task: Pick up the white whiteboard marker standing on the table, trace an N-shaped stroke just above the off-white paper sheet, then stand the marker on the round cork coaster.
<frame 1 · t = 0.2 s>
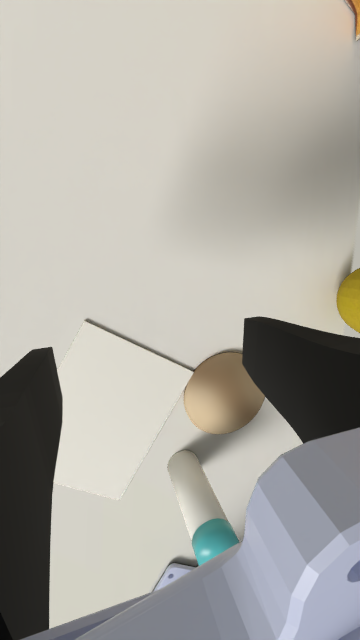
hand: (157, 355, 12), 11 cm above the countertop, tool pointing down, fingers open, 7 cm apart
coaster: (225, 392, 25), on the countertop
paper: (103, 417, 23), on the countertop
marker: (182, 464, 26), on the countertop
lemon: (341, 292, 26), on the countertop
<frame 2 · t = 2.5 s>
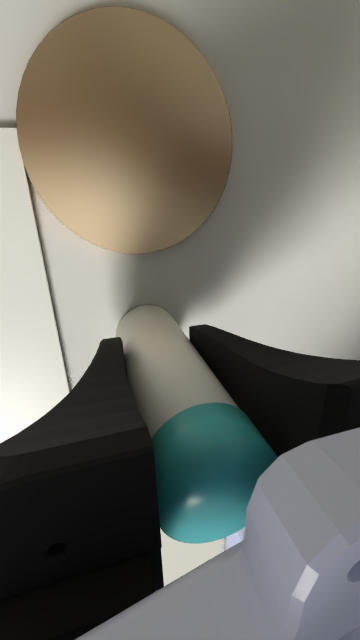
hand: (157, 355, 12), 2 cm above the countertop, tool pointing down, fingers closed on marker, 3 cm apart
coaster: (132, 148, 11), on the countertop
marker: (146, 333, 13), on the countertop, touching gripper
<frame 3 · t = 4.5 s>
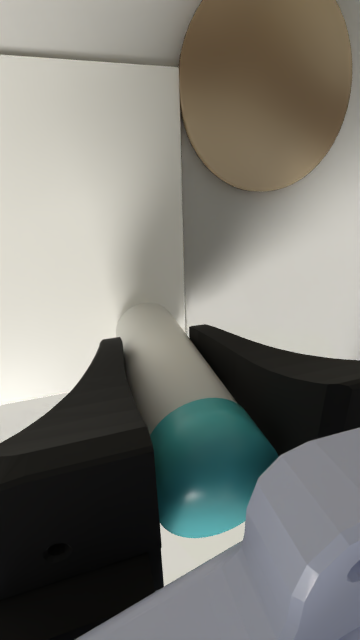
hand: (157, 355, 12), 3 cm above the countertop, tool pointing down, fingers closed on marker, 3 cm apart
coaster: (266, 91, 12), on the countertop
paper: (69, 254, 12), on the countertop
marker: (146, 331, 13), point 1 cm above the countertop, touching gripper
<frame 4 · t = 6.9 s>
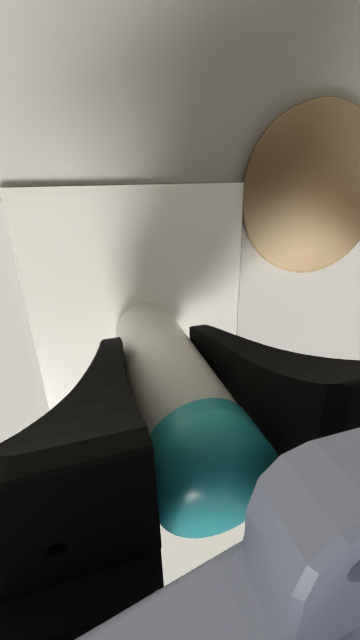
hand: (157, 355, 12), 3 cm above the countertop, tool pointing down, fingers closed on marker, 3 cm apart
coaster: (312, 193, 14), on the countertop
paper: (143, 330, 14), on the countertop
marker: (146, 331, 13), point 1 cm above the countertop, touching gripper
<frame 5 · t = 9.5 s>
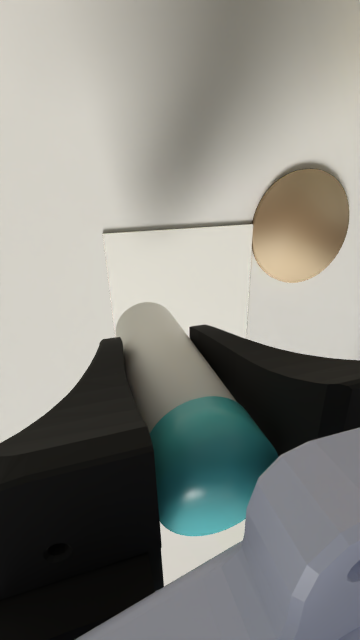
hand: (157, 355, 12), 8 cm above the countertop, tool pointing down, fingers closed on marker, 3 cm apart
coaster: (299, 228, 20), on the countertop
paper: (184, 323, 20), on the countertop
marker: (146, 330, 13), point 6 cm above the countertop, touching gripper
when the fingers open (3 cm above the countertop, at t = 11.6 s): marker stays where it is, resting on coaster.
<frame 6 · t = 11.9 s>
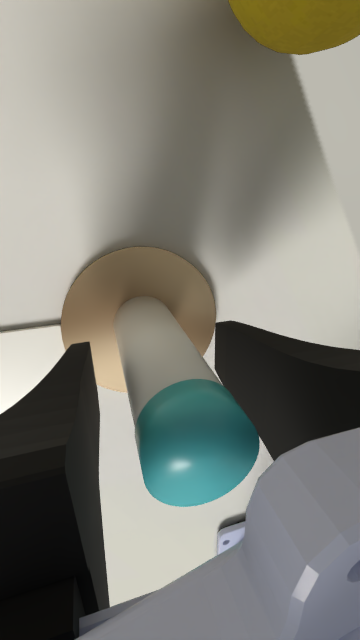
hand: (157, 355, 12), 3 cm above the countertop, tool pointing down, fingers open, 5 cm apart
coaster: (142, 323, 14), on the countertop
marker: (143, 323, 14), resting on coaster
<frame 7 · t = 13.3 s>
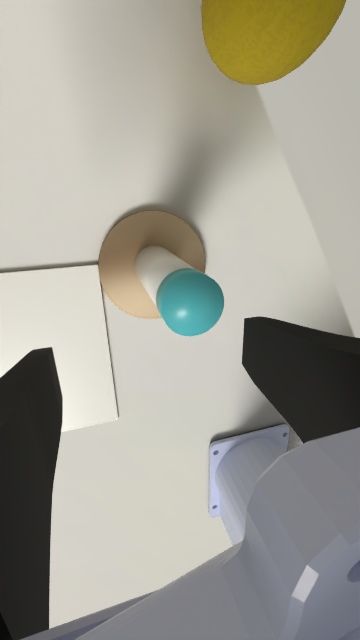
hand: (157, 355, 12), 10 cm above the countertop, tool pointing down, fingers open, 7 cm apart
coaster: (153, 267, 20), on the countertop
paper: (39, 360, 21), on the countertop
marker: (154, 266, 20), resting on coaster
lemon: (227, 43, 17), on the countertop
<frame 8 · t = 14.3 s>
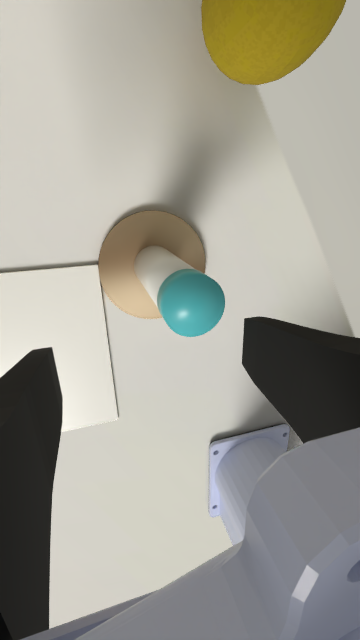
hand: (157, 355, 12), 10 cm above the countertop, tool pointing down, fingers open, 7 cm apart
coaster: (153, 267, 20), on the countertop
paper: (39, 360, 21), on the countertop
marker: (154, 266, 20), resting on coaster
lemon: (227, 43, 17), on the countertop
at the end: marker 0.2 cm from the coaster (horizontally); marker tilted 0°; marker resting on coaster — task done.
